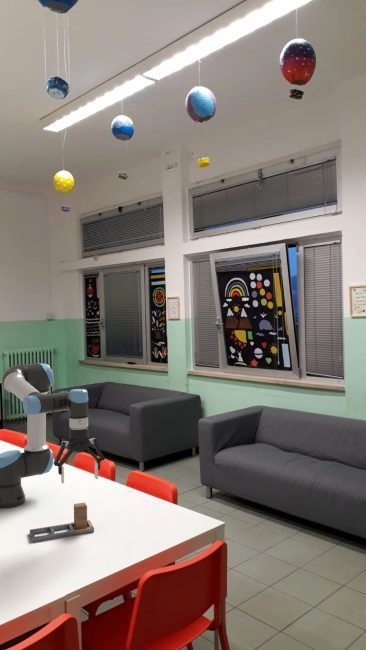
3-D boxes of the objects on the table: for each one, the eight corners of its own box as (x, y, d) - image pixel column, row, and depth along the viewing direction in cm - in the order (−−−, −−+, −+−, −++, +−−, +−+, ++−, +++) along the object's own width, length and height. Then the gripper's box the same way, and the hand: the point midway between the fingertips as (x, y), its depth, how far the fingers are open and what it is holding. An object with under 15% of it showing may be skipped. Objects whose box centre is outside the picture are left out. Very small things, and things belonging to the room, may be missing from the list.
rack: (29, 533, 202) (29, 529, 202) (89, 523, 211) (89, 519, 211) (31, 542, 194) (31, 538, 194) (94, 531, 202) (94, 527, 202)
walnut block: (74, 528, 206) (73, 504, 206) (85, 526, 208) (84, 502, 208) (76, 532, 202) (75, 507, 202) (87, 530, 204) (86, 506, 204)
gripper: (48, 432, 197) (49, 487, 197) (111, 426, 206) (112, 478, 206) (46, 428, 204) (46, 481, 204) (107, 423, 213) (107, 473, 213)
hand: (79, 480), depth 205 cm, fingers open, 13 cm apart
